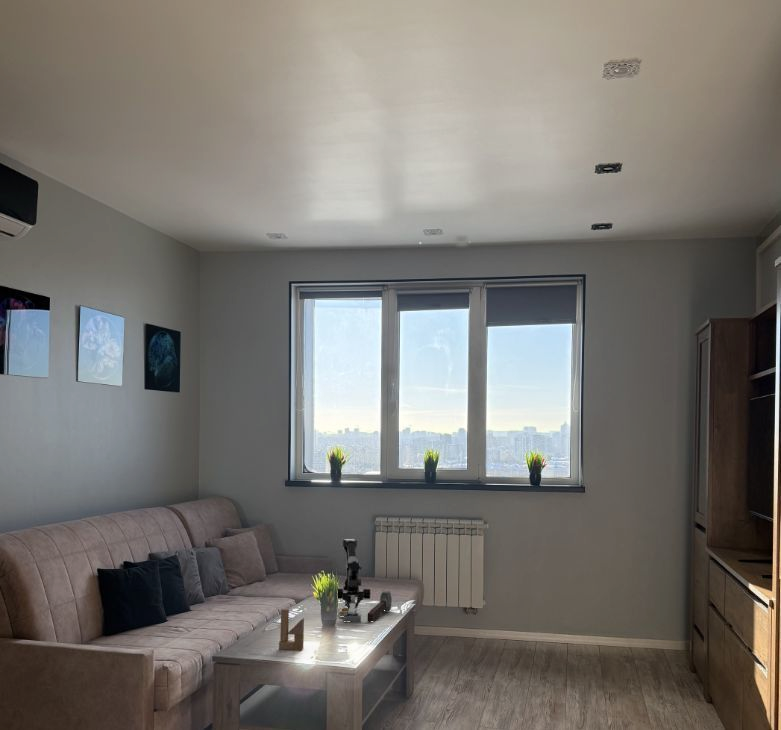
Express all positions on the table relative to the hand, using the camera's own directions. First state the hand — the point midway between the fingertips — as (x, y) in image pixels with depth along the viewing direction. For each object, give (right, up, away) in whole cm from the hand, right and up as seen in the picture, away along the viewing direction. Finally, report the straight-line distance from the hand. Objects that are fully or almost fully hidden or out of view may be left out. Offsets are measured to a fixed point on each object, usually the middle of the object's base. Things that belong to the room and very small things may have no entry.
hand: (352, 607), depth 421 cm
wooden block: (-26, -2, -56) cm, 61 cm away
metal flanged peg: (0, -7, +1) cm, 7 cm away
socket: (0, -7, +1) cm, 7 cm away
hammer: (+14, -9, +11) cm, 20 cm away
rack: (-3, -8, +11) cm, 14 cm away
